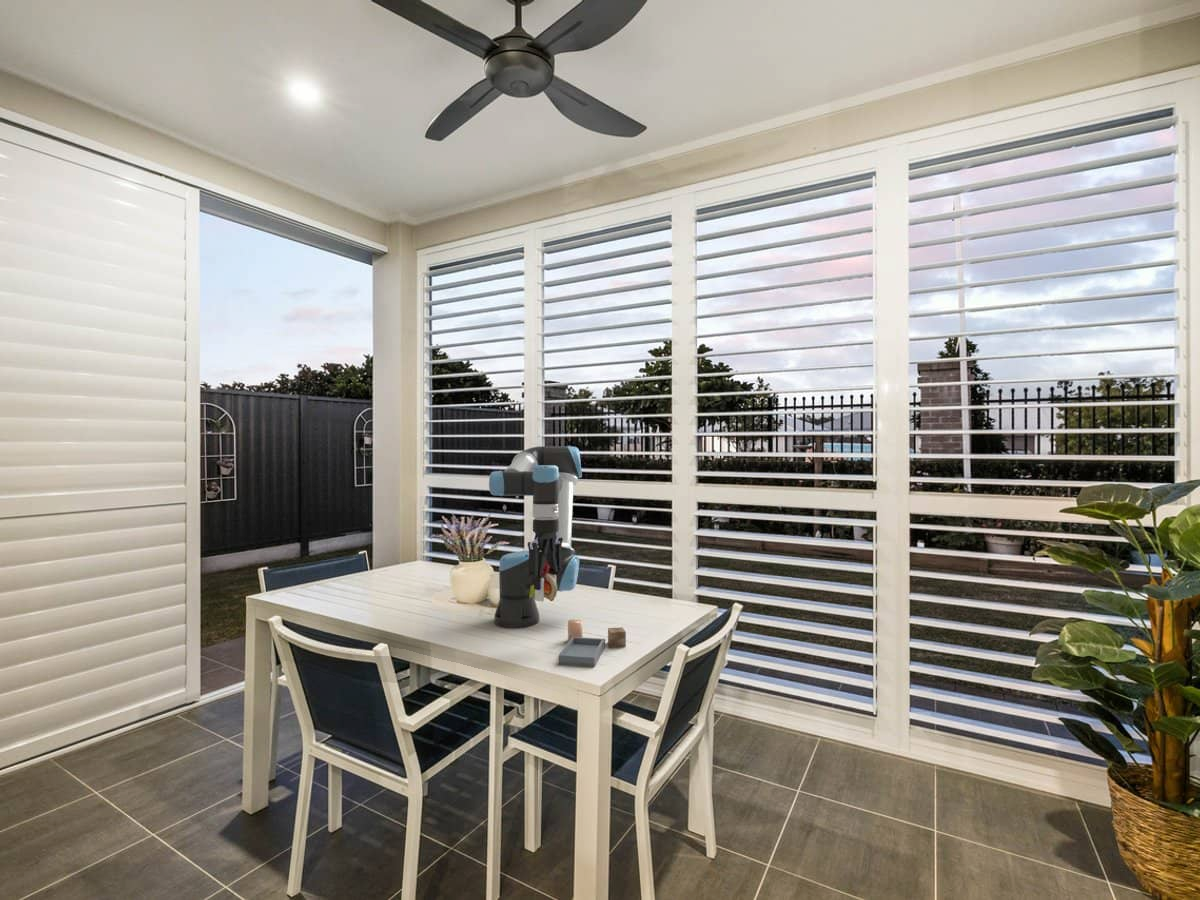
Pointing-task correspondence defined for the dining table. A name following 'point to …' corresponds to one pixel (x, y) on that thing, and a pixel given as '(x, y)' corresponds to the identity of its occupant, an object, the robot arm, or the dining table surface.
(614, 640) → the walnut cube
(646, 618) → the dining table surface
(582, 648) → the tray
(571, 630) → the peach round-ended cylinder
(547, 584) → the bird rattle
